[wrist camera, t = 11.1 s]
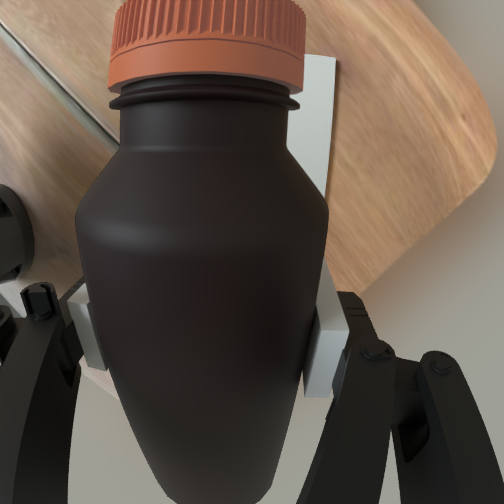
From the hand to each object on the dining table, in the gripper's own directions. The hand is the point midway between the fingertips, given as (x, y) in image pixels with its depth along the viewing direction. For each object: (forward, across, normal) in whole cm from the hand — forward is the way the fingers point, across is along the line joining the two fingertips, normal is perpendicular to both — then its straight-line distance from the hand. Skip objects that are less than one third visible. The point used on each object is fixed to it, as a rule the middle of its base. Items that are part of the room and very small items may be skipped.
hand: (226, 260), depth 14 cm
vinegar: (-5, 0, -11) cm, 12 cm away
